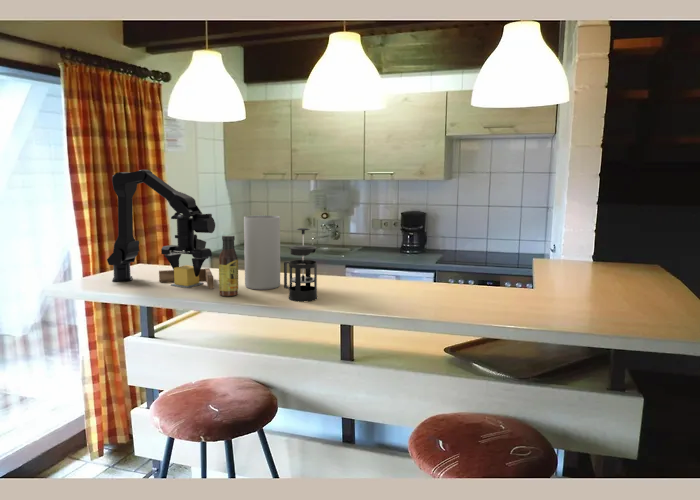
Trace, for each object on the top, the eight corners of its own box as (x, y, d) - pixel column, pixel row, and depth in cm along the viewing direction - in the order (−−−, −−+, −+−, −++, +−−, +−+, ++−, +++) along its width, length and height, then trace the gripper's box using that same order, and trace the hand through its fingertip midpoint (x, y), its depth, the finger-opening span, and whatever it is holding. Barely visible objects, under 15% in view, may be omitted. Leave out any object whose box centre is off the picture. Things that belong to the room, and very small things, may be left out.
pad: (170, 285, 184) (170, 284, 183) (186, 281, 191) (186, 280, 191) (187, 288, 180) (187, 286, 180) (203, 283, 187) (203, 282, 187)
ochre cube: (174, 284, 184) (173, 267, 183) (186, 281, 189) (186, 265, 188) (187, 286, 181) (186, 269, 181) (199, 282, 187) (198, 266, 186)
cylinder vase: (274, 281, 193) (273, 215, 189) (284, 288, 182) (284, 217, 178) (241, 284, 188) (240, 215, 184) (250, 291, 176) (249, 218, 173)
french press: (323, 296, 171) (323, 227, 167) (313, 303, 162) (313, 230, 159) (290, 293, 174) (290, 225, 171) (279, 299, 165) (278, 228, 162)
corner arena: (159, 281, 191) (159, 270, 190) (209, 278, 197) (209, 268, 196) (158, 291, 174) (158, 280, 173) (213, 288, 180) (213, 277, 179)
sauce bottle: (233, 297, 167) (232, 237, 164) (215, 296, 168) (214, 236, 165) (241, 293, 174) (240, 234, 171) (224, 292, 175) (223, 234, 172)
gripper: (221, 231, 186) (222, 273, 188) (181, 228, 194) (183, 269, 196) (200, 234, 176) (201, 279, 178) (159, 231, 184) (161, 274, 186)
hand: (187, 275), depth 185 cm, fingers open, 9 cm apart
